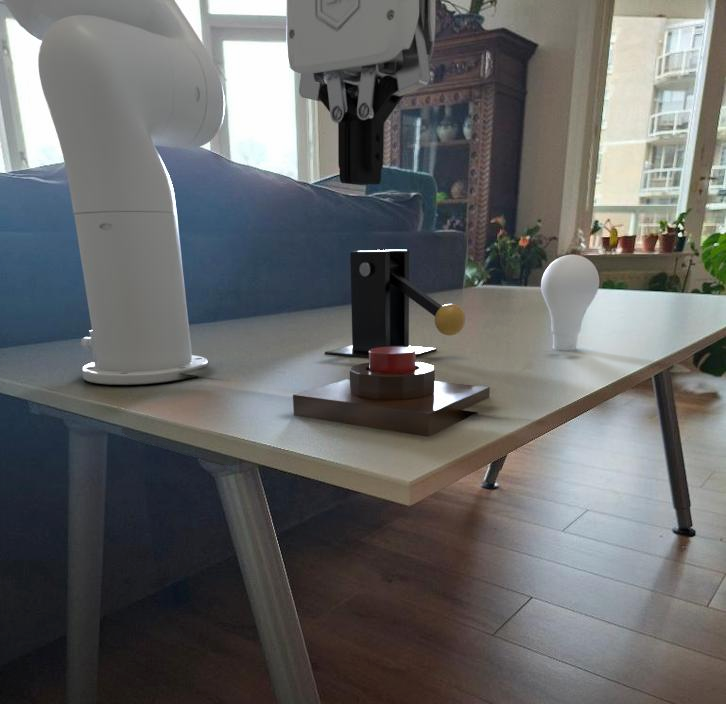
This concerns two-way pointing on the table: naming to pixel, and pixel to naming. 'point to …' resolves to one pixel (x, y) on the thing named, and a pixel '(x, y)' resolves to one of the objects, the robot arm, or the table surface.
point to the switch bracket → (378, 304)
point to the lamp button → (392, 359)
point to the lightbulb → (568, 297)
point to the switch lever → (430, 304)
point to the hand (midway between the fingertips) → (360, 183)
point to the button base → (391, 400)
